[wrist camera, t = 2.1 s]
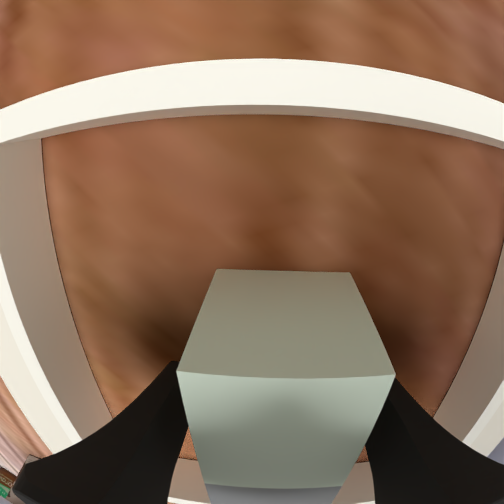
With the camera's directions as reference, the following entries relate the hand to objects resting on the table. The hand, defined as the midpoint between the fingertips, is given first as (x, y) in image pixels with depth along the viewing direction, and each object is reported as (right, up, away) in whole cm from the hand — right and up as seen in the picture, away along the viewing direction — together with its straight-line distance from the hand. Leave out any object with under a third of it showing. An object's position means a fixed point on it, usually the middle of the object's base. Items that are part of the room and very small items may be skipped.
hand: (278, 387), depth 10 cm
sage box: (0, +1, +1) cm, 2 cm away
